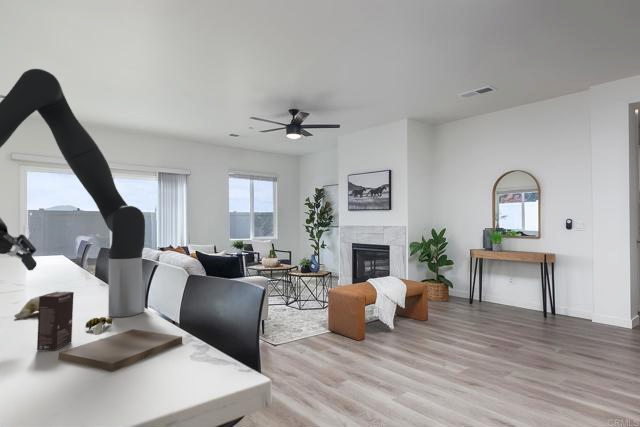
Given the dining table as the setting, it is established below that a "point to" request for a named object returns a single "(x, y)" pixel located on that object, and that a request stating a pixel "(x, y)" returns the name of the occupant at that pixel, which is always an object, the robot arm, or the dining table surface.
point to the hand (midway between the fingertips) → (15, 270)
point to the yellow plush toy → (29, 308)
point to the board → (120, 349)
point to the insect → (98, 324)
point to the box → (55, 320)
